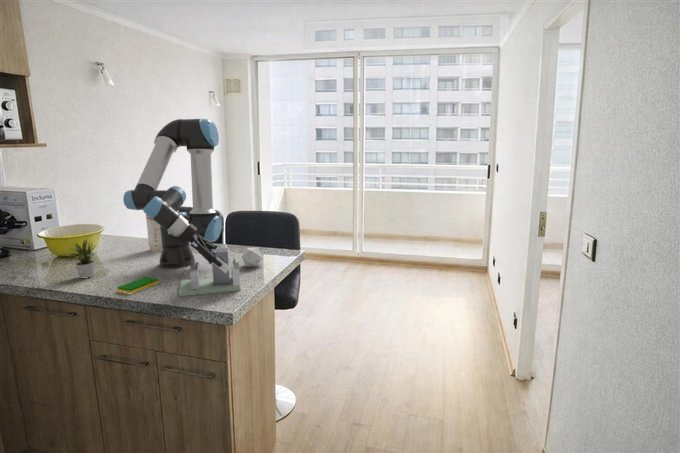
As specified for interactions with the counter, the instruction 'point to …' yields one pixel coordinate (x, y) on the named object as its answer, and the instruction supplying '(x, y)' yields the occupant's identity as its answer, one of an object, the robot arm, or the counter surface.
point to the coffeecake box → (154, 234)
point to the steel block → (218, 274)
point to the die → (252, 257)
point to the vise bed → (208, 285)
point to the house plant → (83, 259)
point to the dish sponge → (138, 285)
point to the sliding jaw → (194, 274)
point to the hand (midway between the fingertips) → (227, 265)
